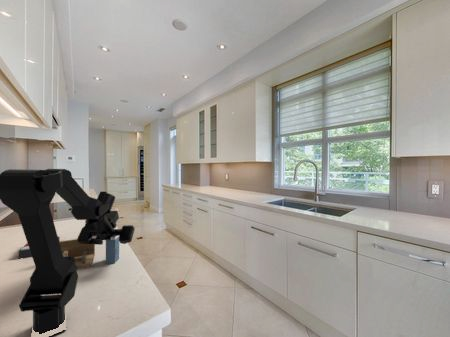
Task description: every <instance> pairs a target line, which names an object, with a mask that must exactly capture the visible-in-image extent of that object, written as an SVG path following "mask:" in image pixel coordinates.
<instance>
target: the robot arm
mask: <svg viewBox="0 0 450 337" xmlns="http://www.w3.org/2000/svg"><path fill="white" fill-rule="evenodd" d="M56 194H57V195H58V196H59V197H60V198H61V199H62V200H63V201H65V203H67V204H68V205H69V206H70V207H71V211H70V213H71V215H72V216H73V218H74V219H75V220H77V221H82V220H83V221H84V224H85V225H84V226H82V228H81V230H80V232H79V234H78V236H77V238H76V239H77V241H78V242H79V243H80V244H95V245H99V246H100V245H101V246H102V245H103V244H104V241H106V240H110V239H111V237H112V236H119V244H123V245H126V244H129V243H131V242H132V241H133V237H134V233H135V229H136V228H135V226H134V225H133V224H132V225H131V224H130V225H127V224H126V225H125V224H124V225H122V227H121V228H117V226H118V225H117V221H118V220H119V219H120V217H119V213H118V212H119V211H117V210H112V208H113V206H114V204H115V200H116V196H115V195H113V194H111V193H108V192H107V191H100V192H99V194H98V195H97V198H95V197H91V196H89V195H88V193H87V192H85V190H84V189H83V187H81V186H80V184H79V183H78V182H77V181H76V180H75V178H73V176H72V172H71V171H70V170H69V169H65V168H47V169H11V168H10V169H5V170H3V171H1V173H0V201H1V203H2V204H3V205H5V206H6V207H7V208H9V209H10V210H11V211H13V212H14V213H16V214H17V216H18V219H19V222H20V224H21V227H22V230H23V233H24V237H25V239H26V244H27V243H28V246H29V249H30V252H31V255H32V257H31V258H32V260H33V262H34V267H35V269H34V271H33V272H32V274H31V276H30V278H29V284H30V285H29V286H28V288H27V290H26V292H25V294H24V295H23V297H22V299H21V301H20V303H19V305H18V308H19V309H20V311H21V312H22V313H23V312H29V311H31V312H32V325H33V330H34V331H35V332H39V334H42V333H45V332H47V331H50V330H53V329H56V328H58V327H59V325H60V324H62V323H63V322H64V320H65V313H66V306H67V304H68V303H69V302H70V301H72V299H73V298H74V297H75V294H76V290H77V283H78V279H79V273H78V270H79V269H78V267H77V266H76V263H75V258H74V257H73V256H70V257H64V256H63V255H62V251H61V247H60V244H59V240H58V237H59V235H58V233H57V230H56V226H55V221H54V218H53V214H52V211H51V207H50V204H51V203H52V201H53V199H54V197H55V195H56Z"/></svg>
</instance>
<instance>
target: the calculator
mask: <svg viewBox="0 0 450 337" xmlns="http://www.w3.org/2000/svg"><path fill="white" fill-rule="evenodd" d="M60 238H61V237H60V236H58V240H59V241H61V240H60ZM17 258H18V260H22V259H21V258H23V259H29V258H32V255H31V252H30V249H29V246H28V243H27V242H26V244H25V245H23V246H22V247H21V248H20V249H19V250H18V257H17Z"/></svg>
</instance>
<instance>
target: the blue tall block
mask: <svg viewBox="0 0 450 337" xmlns="http://www.w3.org/2000/svg"><path fill="white" fill-rule="evenodd" d="M119 260H120V241H119V236H112V237H111V239H110V240H105V264H106V263H109V264H116V263H117V262H118V261H119ZM116 261H117V262H116ZM115 262H116V263H115Z"/></svg>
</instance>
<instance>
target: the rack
mask: <svg viewBox="0 0 450 337" xmlns="http://www.w3.org/2000/svg"><path fill="white" fill-rule="evenodd" d="M59 244H60V247H61V251H62V255H63V256H64V257H70V256H73V257H74V258H75V263H76V266H77V267H78V268H81V269H85V268H84V267H86V268H90V267H89V266H91V267H93V265H94V264H93V263H94V259H95V256H96V255H95V252H96V251H95V250H96V248H95V247H96V246H95V245H96V244H80V243H79V242H78V241H77V238H75V239H68V240H60V241H59ZM92 264H93V265H92Z"/></svg>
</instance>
